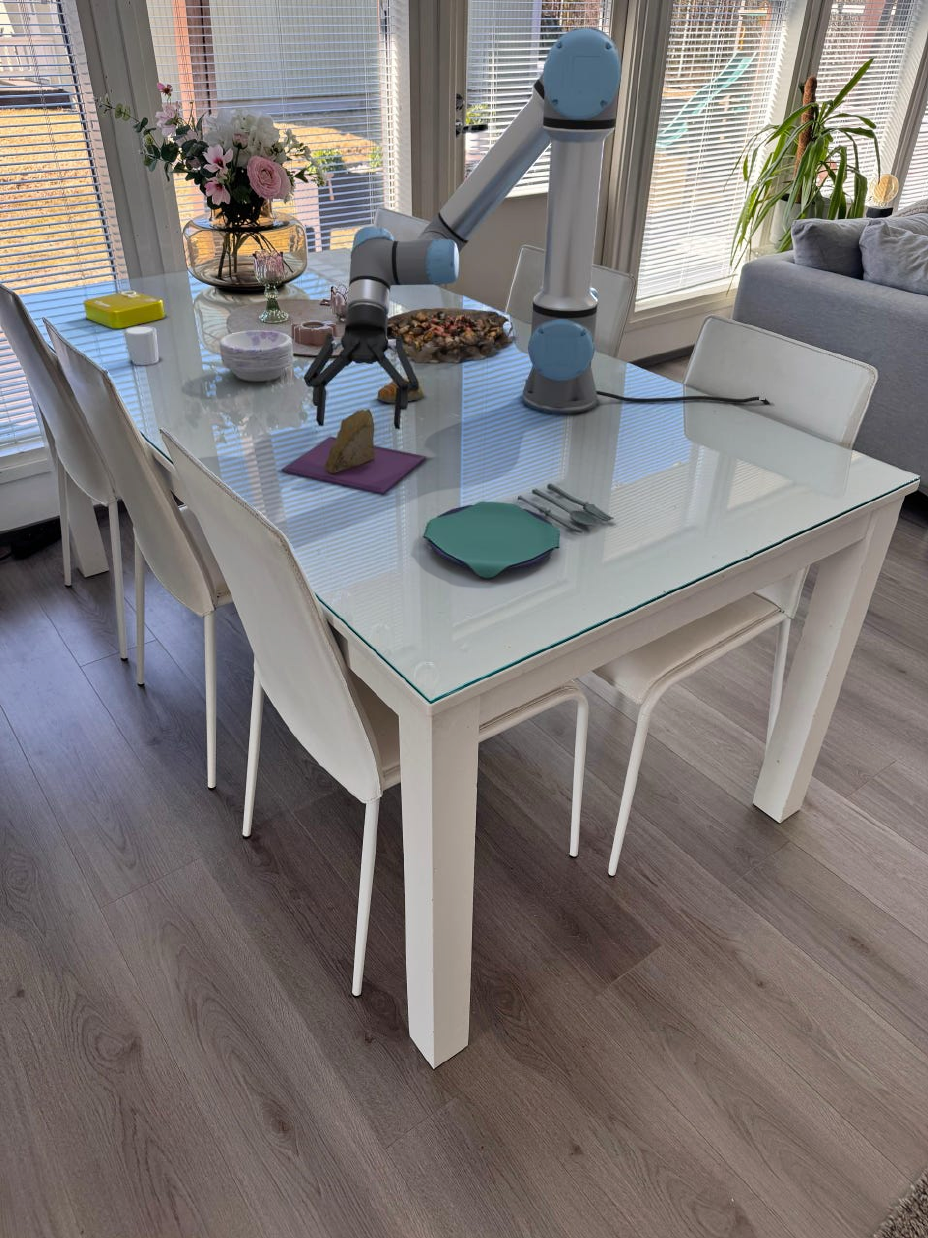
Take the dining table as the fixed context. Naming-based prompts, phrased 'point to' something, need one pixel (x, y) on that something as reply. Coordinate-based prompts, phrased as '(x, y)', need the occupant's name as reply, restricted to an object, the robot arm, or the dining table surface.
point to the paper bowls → (257, 354)
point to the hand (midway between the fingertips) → (358, 424)
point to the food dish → (449, 334)
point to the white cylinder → (142, 344)
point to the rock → (352, 442)
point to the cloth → (357, 468)
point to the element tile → (124, 309)
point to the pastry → (390, 392)
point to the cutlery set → (503, 533)
